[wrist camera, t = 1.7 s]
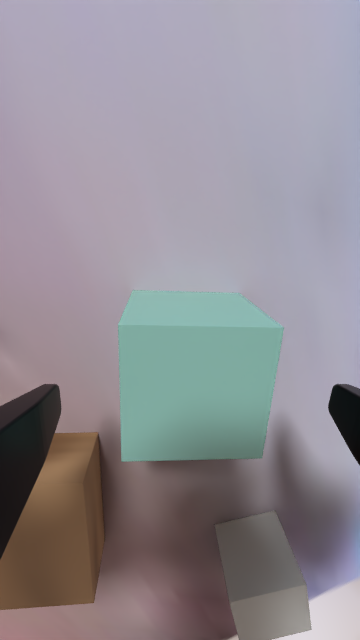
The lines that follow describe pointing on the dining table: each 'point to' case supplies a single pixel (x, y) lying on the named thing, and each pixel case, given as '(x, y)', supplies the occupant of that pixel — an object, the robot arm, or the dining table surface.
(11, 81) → the dining table surface
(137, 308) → the teal cube
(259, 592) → the grey cube
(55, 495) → the tan flat block
